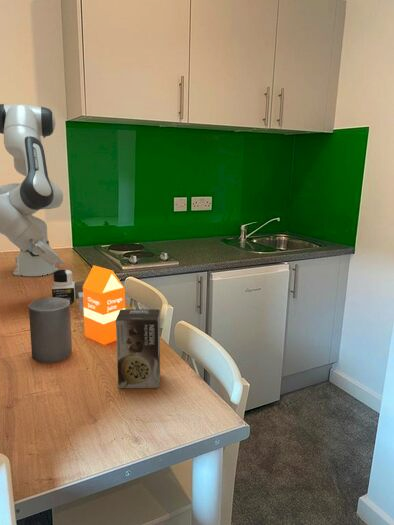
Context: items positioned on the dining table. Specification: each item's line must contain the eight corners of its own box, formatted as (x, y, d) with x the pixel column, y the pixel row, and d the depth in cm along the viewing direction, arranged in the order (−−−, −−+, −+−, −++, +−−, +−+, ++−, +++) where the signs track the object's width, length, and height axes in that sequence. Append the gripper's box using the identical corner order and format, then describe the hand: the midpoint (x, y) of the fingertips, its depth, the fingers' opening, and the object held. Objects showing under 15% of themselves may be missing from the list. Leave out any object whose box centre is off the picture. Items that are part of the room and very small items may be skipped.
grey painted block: (78, 306, 134) (78, 292, 133) (93, 305, 136) (93, 291, 135) (79, 311, 129) (79, 297, 128) (95, 310, 131) (94, 295, 130)
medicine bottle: (52, 308, 131) (50, 273, 129) (54, 301, 138) (52, 268, 135) (75, 306, 133) (73, 273, 130) (75, 300, 140) (73, 267, 137)
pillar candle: (25, 353, 100) (21, 297, 96) (62, 342, 106) (59, 289, 103) (42, 367, 93) (37, 308, 89) (79, 355, 100) (77, 299, 96)
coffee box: (160, 373, 91) (160, 308, 88) (159, 389, 85) (159, 319, 81) (121, 373, 91) (120, 308, 87) (116, 388, 85) (115, 319, 81)
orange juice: (106, 327, 117) (104, 262, 112) (126, 336, 111) (124, 268, 107) (84, 336, 111) (81, 267, 106) (103, 345, 105) (101, 273, 101)
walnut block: (70, 295, 145) (70, 282, 144) (83, 293, 148) (82, 280, 147) (77, 299, 141) (76, 285, 140) (89, 296, 145) (89, 283, 144)
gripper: (40, 235, 117) (75, 264, 124) (31, 226, 134) (62, 251, 141) (25, 251, 116) (61, 279, 123) (18, 239, 133) (50, 265, 140)
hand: (62, 264), depth 132 cm, fingers closed
